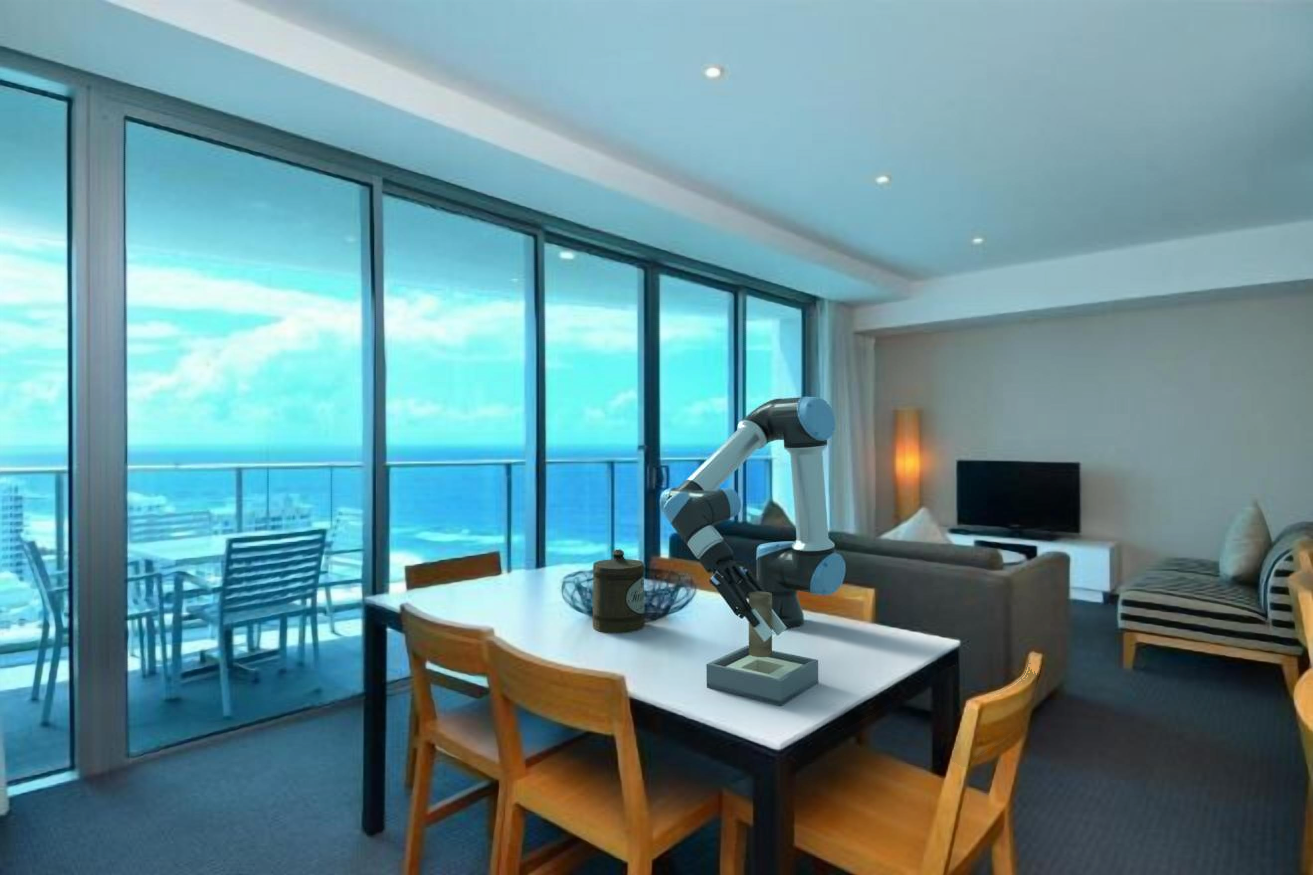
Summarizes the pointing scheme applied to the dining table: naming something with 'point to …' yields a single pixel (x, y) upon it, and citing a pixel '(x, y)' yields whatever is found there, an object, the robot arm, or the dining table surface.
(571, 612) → the dining table surface
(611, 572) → the wooden container
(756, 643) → the peg
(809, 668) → the tray
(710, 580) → the robot arm
